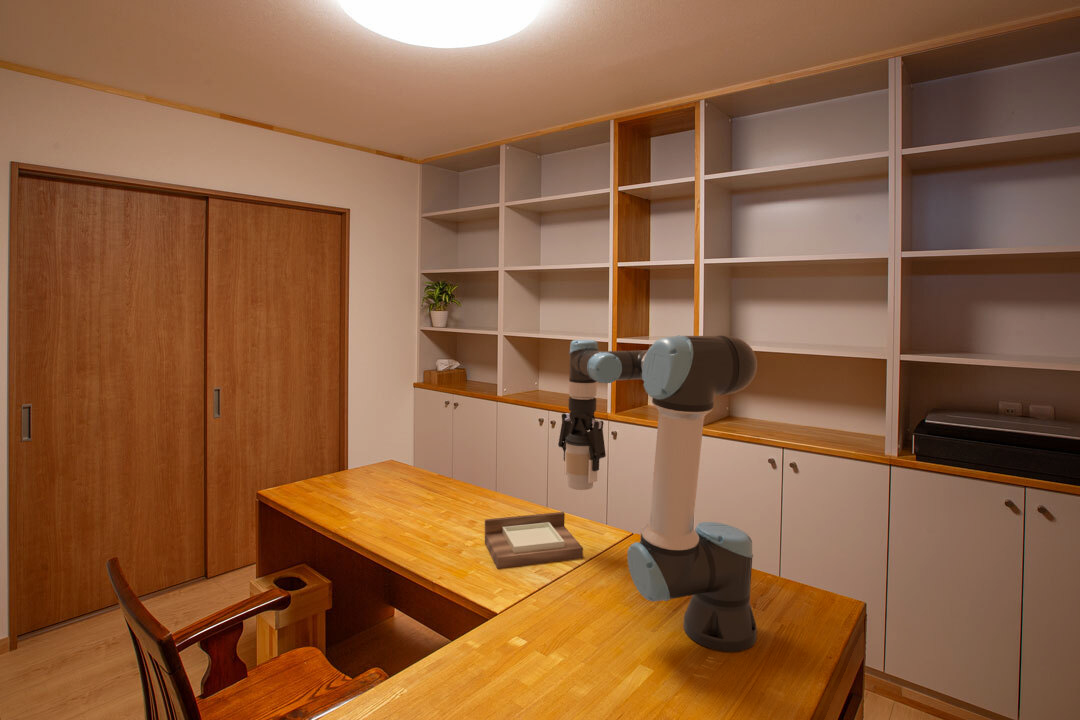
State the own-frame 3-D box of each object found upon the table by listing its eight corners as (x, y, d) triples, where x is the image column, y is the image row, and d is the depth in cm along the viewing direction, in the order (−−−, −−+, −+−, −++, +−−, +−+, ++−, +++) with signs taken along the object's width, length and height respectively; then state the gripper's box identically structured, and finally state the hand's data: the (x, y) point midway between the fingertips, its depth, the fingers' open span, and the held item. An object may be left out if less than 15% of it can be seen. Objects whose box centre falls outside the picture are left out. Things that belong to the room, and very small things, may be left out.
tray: (564, 547, 164) (564, 541, 164) (514, 553, 160) (514, 546, 160) (548, 528, 178) (549, 522, 177) (502, 532, 174) (502, 526, 173)
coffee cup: (601, 490, 162) (603, 436, 160) (569, 492, 160) (570, 437, 158) (590, 479, 171) (592, 428, 169) (560, 481, 169) (561, 429, 167)
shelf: (582, 558, 164) (583, 533, 164) (497, 568, 158) (497, 543, 157) (562, 534, 181) (563, 511, 180) (484, 542, 174) (484, 519, 173)
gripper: (621, 401, 157) (618, 484, 159) (565, 389, 172) (563, 465, 175) (602, 404, 152) (599, 490, 154) (546, 392, 168) (544, 470, 170)
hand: (580, 477), depth 165 cm, fingers closed on coffee cup, 8 cm apart
